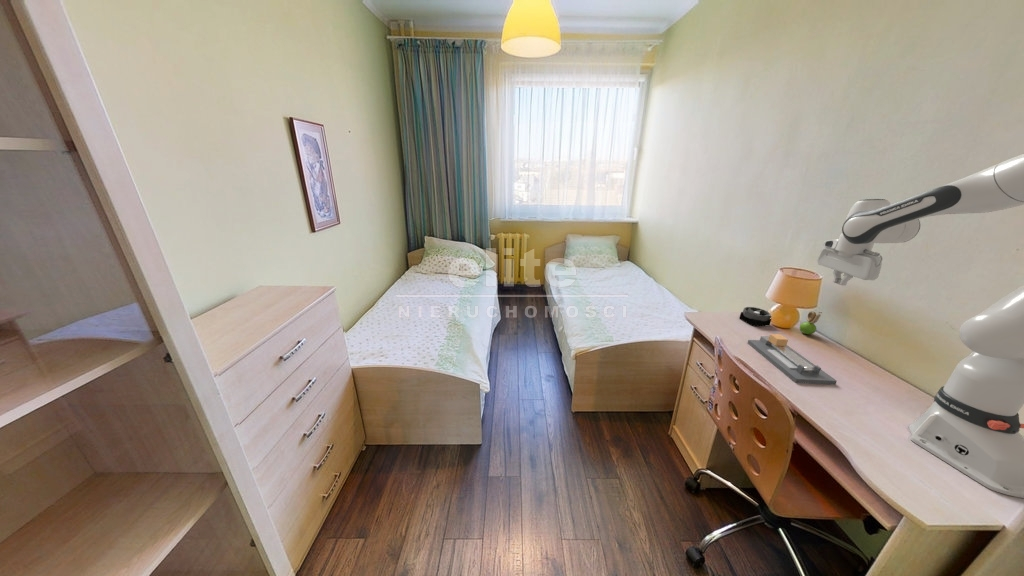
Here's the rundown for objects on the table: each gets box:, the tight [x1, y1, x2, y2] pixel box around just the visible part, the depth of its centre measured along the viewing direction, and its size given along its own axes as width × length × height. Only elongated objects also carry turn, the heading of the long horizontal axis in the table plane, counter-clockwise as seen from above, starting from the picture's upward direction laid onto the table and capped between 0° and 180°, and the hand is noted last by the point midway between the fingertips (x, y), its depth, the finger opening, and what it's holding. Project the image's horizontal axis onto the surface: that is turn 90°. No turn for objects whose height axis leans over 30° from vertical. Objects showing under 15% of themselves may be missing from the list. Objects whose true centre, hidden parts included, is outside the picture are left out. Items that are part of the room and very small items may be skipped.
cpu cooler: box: [739, 306, 772, 327], centre depth 152 cm, size 10×6×10 cm
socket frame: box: [747, 335, 838, 385], centre depth 121 cm, size 26×13×4 cm, turn 177°
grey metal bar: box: [772, 344, 816, 371], centre depth 119 cm, size 17×4×1 cm, turn 177°
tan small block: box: [768, 333, 789, 346], centre depth 126 cm, size 4×4×3 cm
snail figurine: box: [799, 311, 823, 335], centre depth 140 cm, size 5×6×12 cm
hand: (839, 284), depth 118 cm, fingers closed
